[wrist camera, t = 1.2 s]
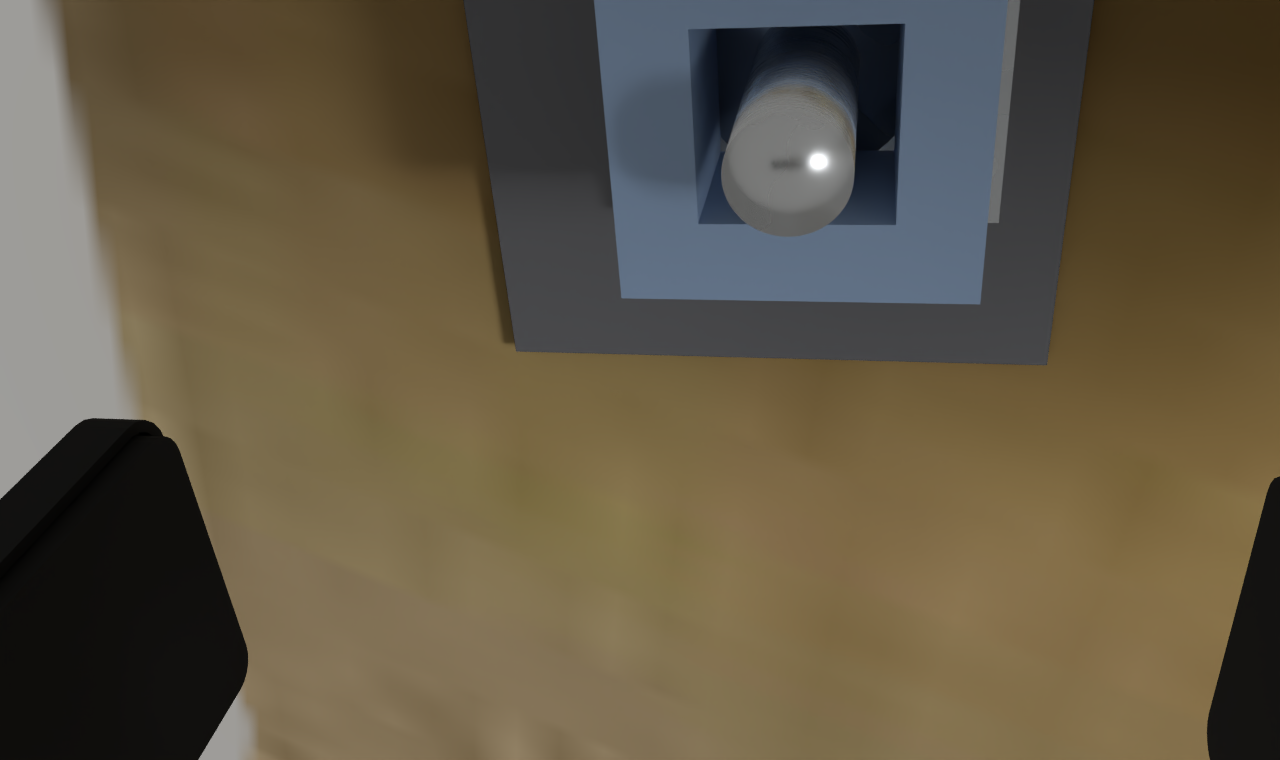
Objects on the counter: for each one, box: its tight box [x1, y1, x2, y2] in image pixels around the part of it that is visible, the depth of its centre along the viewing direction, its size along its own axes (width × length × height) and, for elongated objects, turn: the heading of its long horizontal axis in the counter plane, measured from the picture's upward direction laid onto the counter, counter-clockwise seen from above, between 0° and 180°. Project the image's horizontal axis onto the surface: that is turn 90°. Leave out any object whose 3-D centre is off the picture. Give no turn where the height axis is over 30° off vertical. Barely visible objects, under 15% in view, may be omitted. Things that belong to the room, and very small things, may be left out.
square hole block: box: [594, 0, 1008, 304], centre depth 21 cm, size 6×6×4 cm
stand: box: [716, 0, 1020, 237], centre depth 21 cm, size 8×8×8 cm
